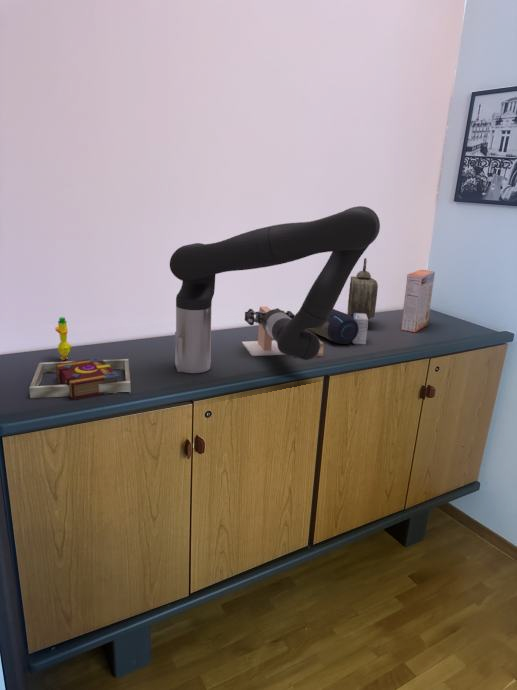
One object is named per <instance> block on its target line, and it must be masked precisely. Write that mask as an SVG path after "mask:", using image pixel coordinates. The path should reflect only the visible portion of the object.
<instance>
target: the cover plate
mask: <svg viewBox="0 0 517 690" xmlns="http://www.w3.org/2000/svg"><path fill="white" fill-rule="evenodd" d="M270 310H272V309H271V308H269V307H268V306H267V305H266V306H259V310H258V311H261V312H268V311H270ZM260 316H261V314H260ZM257 332H258V335H257V336H258V337H257V341H258V344H259V345H260V347H261V348H262V349H263V350H271V348H272V341H273V338H272V337H271V336H270V335H269V334H268V333H267V332H266V331H265V330H264V329H263V327H262V324H259V323H258V331H257Z"/></svg>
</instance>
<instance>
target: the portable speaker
mask: <svg viewBox="0 0 517 690" xmlns="http://www.w3.org/2000/svg"><path fill="white" fill-rule="evenodd" d="M307 330H309V331H311V332H313V333H314V334H315V335H319V336H321V337H323V338H325V339H327V340H329V341H331V342H333V343H335V344H340V345H345V344H349V343H351V342H352V340H354V339H355V337H356V336H357V334H358V330H359V329H358V324H357V322H356V321H355V320H354V319H353V318H352V317H351V316H350V315H348V313H346V312H342V311H339V310H338V309H334V308H333V309H332V311H331V313H330V315H329V317H328V319H327V321H326V323H325V324H324V326H322V327H321V328H307Z"/></svg>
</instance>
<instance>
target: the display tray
mask: <svg viewBox="0 0 517 690" xmlns="http://www.w3.org/2000/svg"><path fill="white" fill-rule="evenodd" d="M102 360H103V361H104V362H105V364H106V365H108V364H109V365H110V366H111V369H112V370H113V369H120V370H124V375H125V376H124V377H125V380H124V381H117V382H109V383H104V384H99V392H107V393H113V394H118V393H117V392H129V393H131V389H132V388H131V375H130V364H129V363H130V362H129V358H119V359H102ZM74 361H75V360H72V361H69V360H68V361H50V362H39V363H38V365H37V368H36V370H35V373H34V376H33V378H32V381H31V383H30V386H29V389H28V390H29V397H30V399H39V398H41V397H42V399H44V398H45V397H46V398H58V397H61V398H62V397H71V396H70V389H69V385H60V384H53V385H51V384H49V385H48V384H47V385H41V382H42V379H43V376H44V374H45V373H44V372H56V364H61V363H68V362H74ZM113 371H114V370H113ZM43 373H44V374H43ZM39 385H40V386H39ZM43 397H44V398H43Z"/></svg>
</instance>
